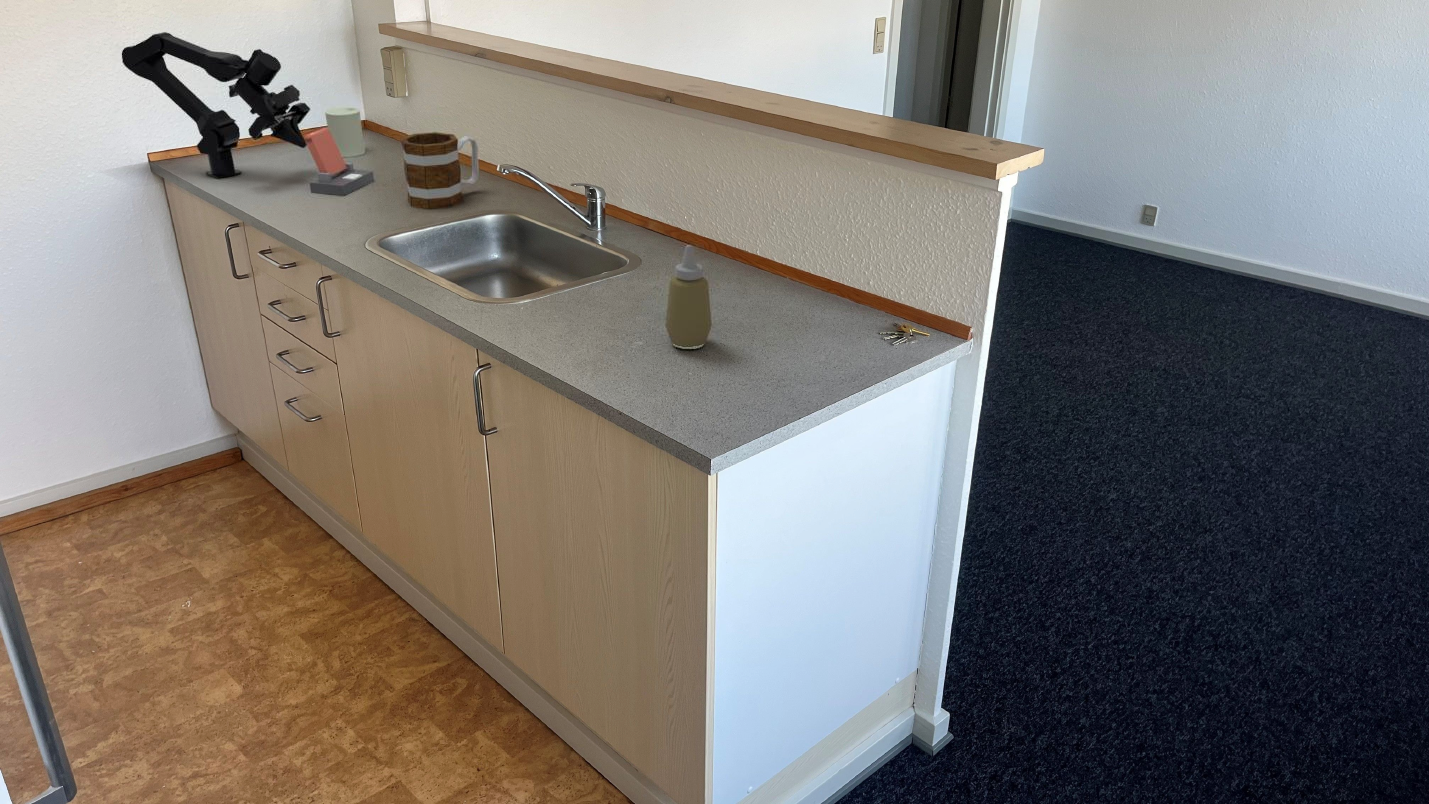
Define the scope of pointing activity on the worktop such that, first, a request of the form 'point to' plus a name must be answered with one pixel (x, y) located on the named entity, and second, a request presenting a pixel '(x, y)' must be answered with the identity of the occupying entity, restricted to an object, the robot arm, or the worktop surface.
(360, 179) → the grey holder stand
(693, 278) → the squeeze bottle
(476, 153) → the mug
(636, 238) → the worktop surface
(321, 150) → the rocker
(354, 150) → the can
